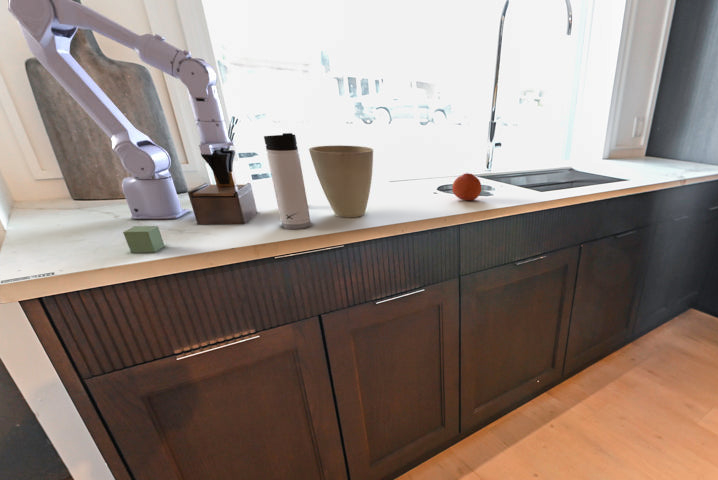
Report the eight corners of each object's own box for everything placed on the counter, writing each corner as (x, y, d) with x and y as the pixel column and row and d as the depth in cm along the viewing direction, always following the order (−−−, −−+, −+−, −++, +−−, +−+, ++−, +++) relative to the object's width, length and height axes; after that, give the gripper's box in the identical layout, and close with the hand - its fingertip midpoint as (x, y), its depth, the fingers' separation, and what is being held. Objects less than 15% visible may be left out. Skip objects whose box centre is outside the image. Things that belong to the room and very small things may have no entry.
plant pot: (309, 212, 111) (297, 146, 103) (360, 205, 121) (353, 144, 113) (338, 224, 102) (328, 153, 95) (390, 215, 112) (385, 150, 104)
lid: (193, 196, 95) (187, 178, 93) (211, 187, 104) (206, 170, 102) (233, 196, 97) (229, 178, 95) (247, 187, 106) (243, 171, 104)
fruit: (467, 195, 139) (467, 169, 135) (486, 200, 134) (487, 173, 130) (446, 199, 133) (445, 172, 129) (465, 204, 128) (465, 176, 124)
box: (197, 224, 98) (187, 191, 94) (214, 213, 107) (205, 182, 104) (245, 223, 100) (237, 191, 96) (257, 212, 109) (250, 183, 106)
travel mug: (294, 231, 96) (275, 134, 86) (276, 226, 99) (256, 131, 89) (317, 225, 101) (302, 133, 91) (300, 221, 104) (283, 130, 94)
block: (131, 253, 80) (122, 232, 78) (141, 246, 83) (133, 226, 81) (155, 252, 80) (147, 231, 78) (164, 246, 84) (157, 225, 82)
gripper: (218, 123, 91) (235, 188, 98) (239, 119, 104) (252, 178, 110) (181, 122, 90) (200, 188, 97) (206, 118, 102) (222, 178, 109)
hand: (226, 183), depth 103 cm, fingers closed on lid
